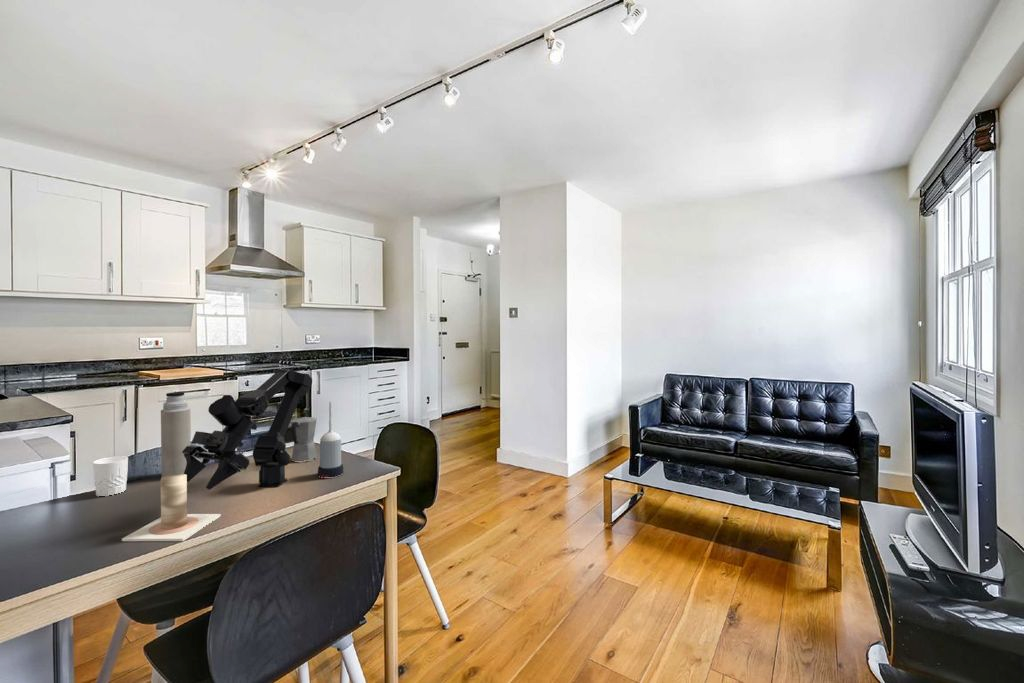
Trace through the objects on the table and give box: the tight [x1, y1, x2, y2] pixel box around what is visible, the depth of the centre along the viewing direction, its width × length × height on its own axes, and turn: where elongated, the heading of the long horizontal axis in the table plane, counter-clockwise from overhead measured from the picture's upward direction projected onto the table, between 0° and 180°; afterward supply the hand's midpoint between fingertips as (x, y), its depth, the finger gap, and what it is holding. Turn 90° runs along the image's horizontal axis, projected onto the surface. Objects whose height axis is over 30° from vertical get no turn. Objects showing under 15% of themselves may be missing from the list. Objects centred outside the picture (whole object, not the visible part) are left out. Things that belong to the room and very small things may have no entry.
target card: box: [121, 513, 221, 542], centre depth 112 cm, size 14×14×1 cm
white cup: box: [92, 455, 129, 497], centre depth 135 cm, size 8×8×10 cm
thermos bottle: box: [160, 391, 192, 478], centre depth 151 cm, size 8×8×28 cm
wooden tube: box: [160, 474, 188, 530], centre depth 112 cm, size 5×5×12 cm
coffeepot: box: [290, 411, 317, 461], centre depth 170 cm, size 15×9×18 cm, turn 179°
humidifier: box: [317, 401, 344, 477], centre depth 153 cm, size 8×8×25 cm
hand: (194, 486), depth 117 cm, fingers open, 9 cm apart
